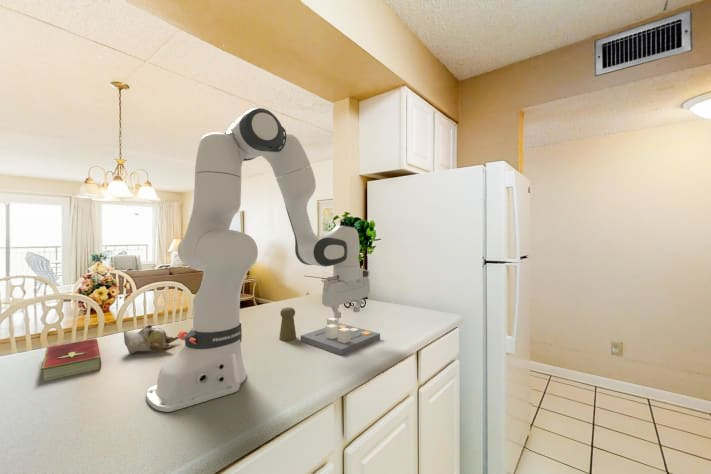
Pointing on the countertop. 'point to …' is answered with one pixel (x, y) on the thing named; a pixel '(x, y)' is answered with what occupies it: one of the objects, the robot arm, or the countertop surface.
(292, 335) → the cork
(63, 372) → the hardcover book
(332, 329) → the switch middle
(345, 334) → the cream slider knob
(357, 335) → the switch panel
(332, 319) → the switch left
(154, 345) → the ceramic sculpture
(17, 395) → the countertop surface
